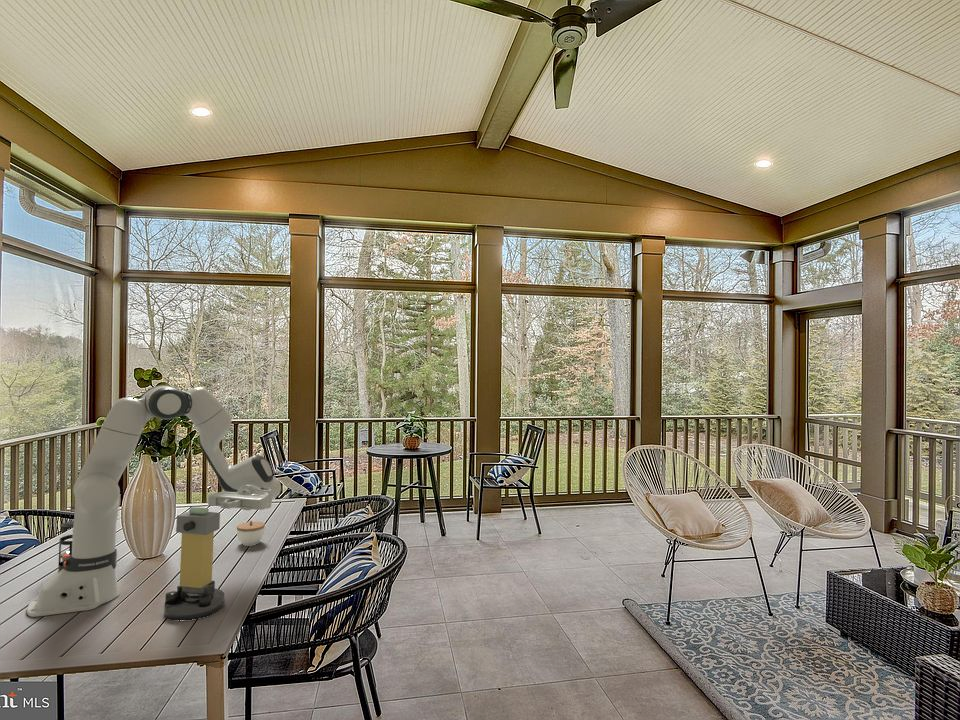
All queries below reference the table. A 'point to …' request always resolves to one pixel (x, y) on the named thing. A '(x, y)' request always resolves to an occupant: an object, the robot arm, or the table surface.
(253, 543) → the lidded jar
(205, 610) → the levelling base
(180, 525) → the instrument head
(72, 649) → the table surface
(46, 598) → the robot arm
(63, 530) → the french press
